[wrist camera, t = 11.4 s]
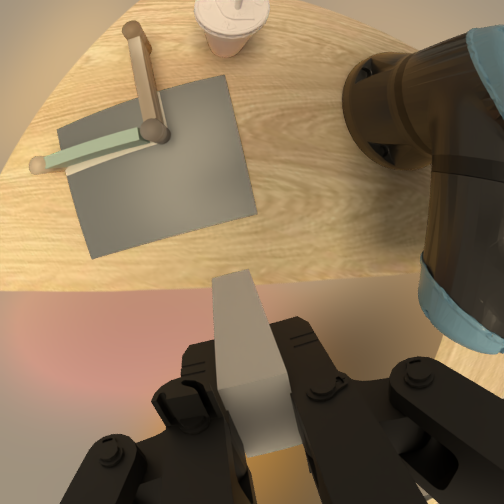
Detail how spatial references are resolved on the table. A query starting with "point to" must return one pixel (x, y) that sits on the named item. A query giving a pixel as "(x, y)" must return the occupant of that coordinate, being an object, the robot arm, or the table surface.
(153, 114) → the base
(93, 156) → the gate panel
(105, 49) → the table surface
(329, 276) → the table surface
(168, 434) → the robot arm
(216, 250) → the table surface
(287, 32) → the table surface
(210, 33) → the smoothie
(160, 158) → the card
